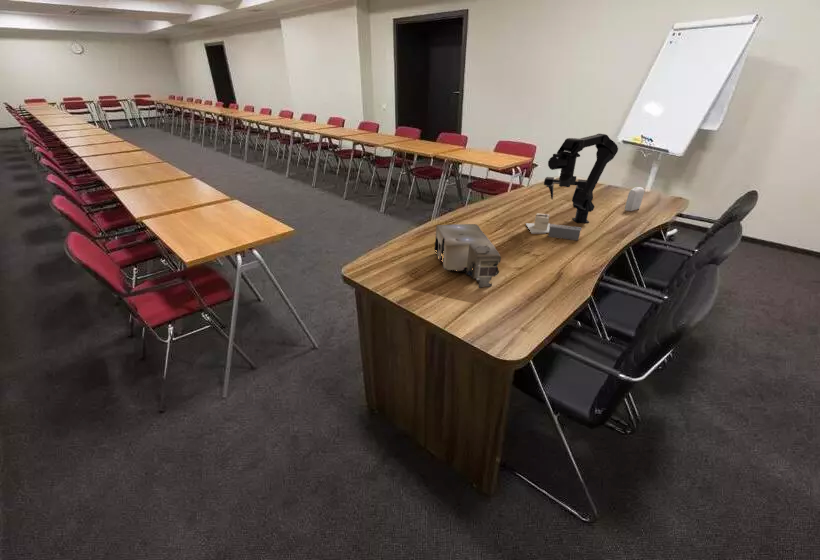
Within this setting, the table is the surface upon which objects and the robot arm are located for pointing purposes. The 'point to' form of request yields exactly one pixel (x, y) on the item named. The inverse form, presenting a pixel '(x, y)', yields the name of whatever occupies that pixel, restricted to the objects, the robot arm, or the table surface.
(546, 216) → the letter cube
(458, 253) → the projector
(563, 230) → the screen
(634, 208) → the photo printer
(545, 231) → the mat
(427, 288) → the table surface
